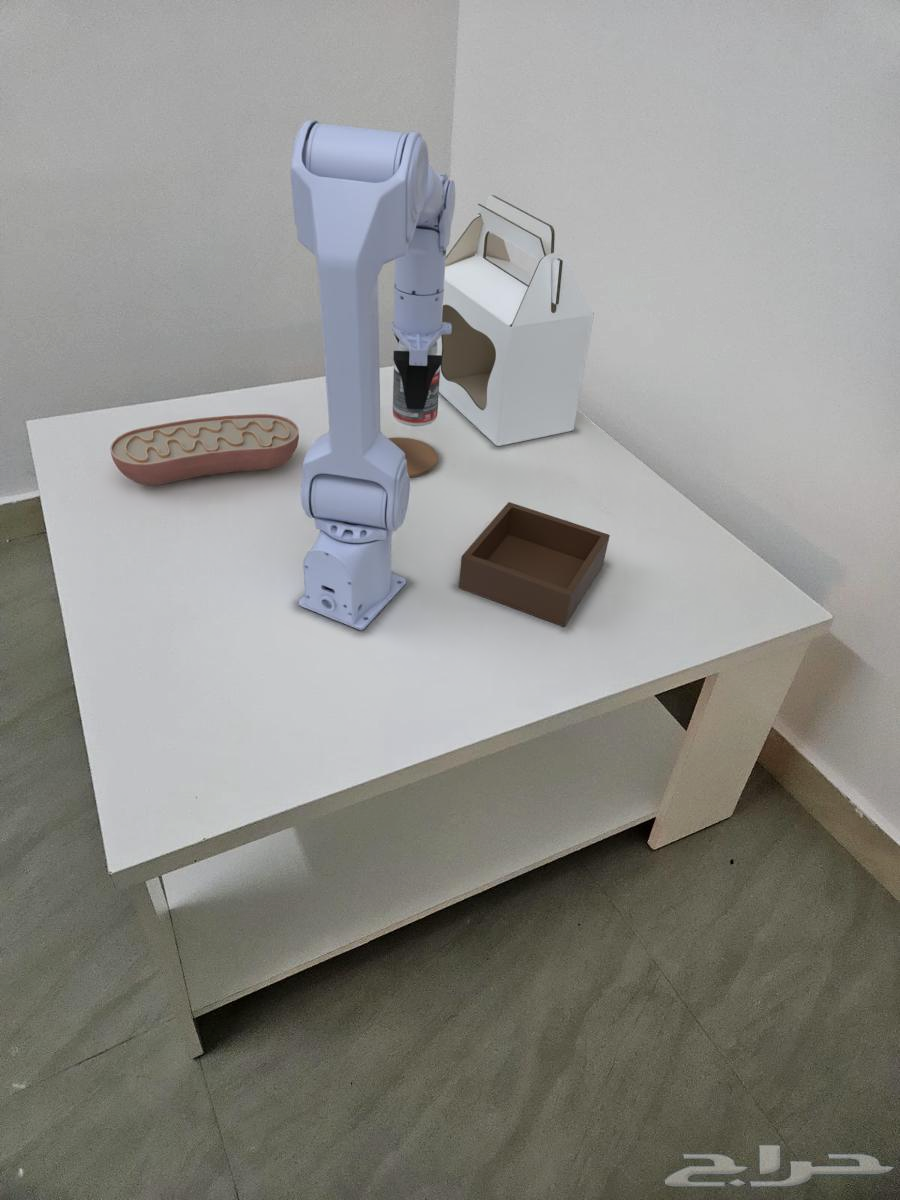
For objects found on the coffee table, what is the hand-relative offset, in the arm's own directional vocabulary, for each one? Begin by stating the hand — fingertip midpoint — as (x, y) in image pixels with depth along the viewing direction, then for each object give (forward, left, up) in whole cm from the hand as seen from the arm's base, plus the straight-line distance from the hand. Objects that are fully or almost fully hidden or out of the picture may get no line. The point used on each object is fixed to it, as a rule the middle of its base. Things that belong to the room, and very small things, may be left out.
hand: (414, 396), depth 102 cm
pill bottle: (0, 0, -3) cm, 3 cm away
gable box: (+23, -2, -11) cm, 26 cm away
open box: (-13, -23, -10) cm, 28 cm away
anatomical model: (-15, +21, -11) cm, 28 cm away
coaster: (+1, +3, -10) cm, 11 cm away
